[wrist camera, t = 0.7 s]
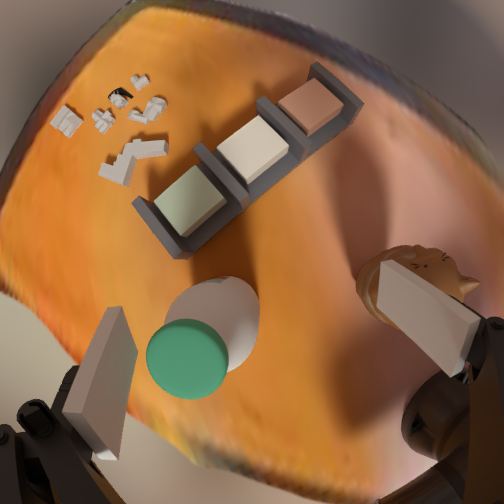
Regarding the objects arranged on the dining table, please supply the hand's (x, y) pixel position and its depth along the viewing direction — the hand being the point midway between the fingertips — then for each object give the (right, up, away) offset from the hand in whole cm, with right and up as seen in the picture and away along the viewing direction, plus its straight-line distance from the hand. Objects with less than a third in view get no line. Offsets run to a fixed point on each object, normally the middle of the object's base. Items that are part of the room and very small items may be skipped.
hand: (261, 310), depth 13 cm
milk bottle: (-3, -4, +21) cm, 21 cm away
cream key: (0, +14, +18) cm, 23 cm away
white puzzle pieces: (-19, +24, +23) cm, 38 cm away
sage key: (-7, +8, +19) cm, 21 cm away
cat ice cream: (+14, -1, +20) cm, 25 cm away
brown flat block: (+6, +20, +18) cm, 28 cm away
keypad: (0, +14, +21) cm, 25 cm away
